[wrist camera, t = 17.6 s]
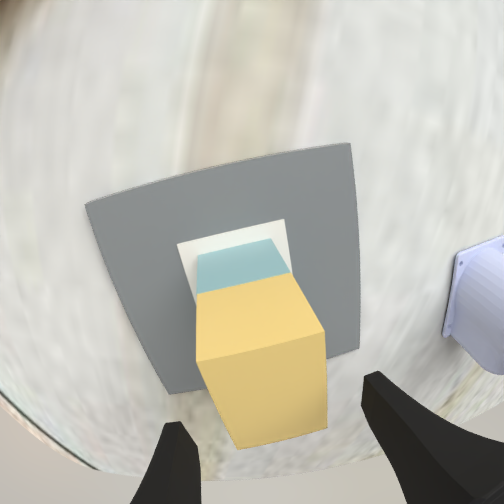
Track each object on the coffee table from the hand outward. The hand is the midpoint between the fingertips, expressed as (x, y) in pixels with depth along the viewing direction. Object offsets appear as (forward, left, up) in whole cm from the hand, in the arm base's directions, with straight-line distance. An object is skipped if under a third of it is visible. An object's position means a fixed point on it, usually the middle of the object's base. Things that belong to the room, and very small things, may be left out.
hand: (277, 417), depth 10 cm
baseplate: (0, 0, -10) cm, 10 cm away
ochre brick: (0, 0, -5) cm, 5 cm away
